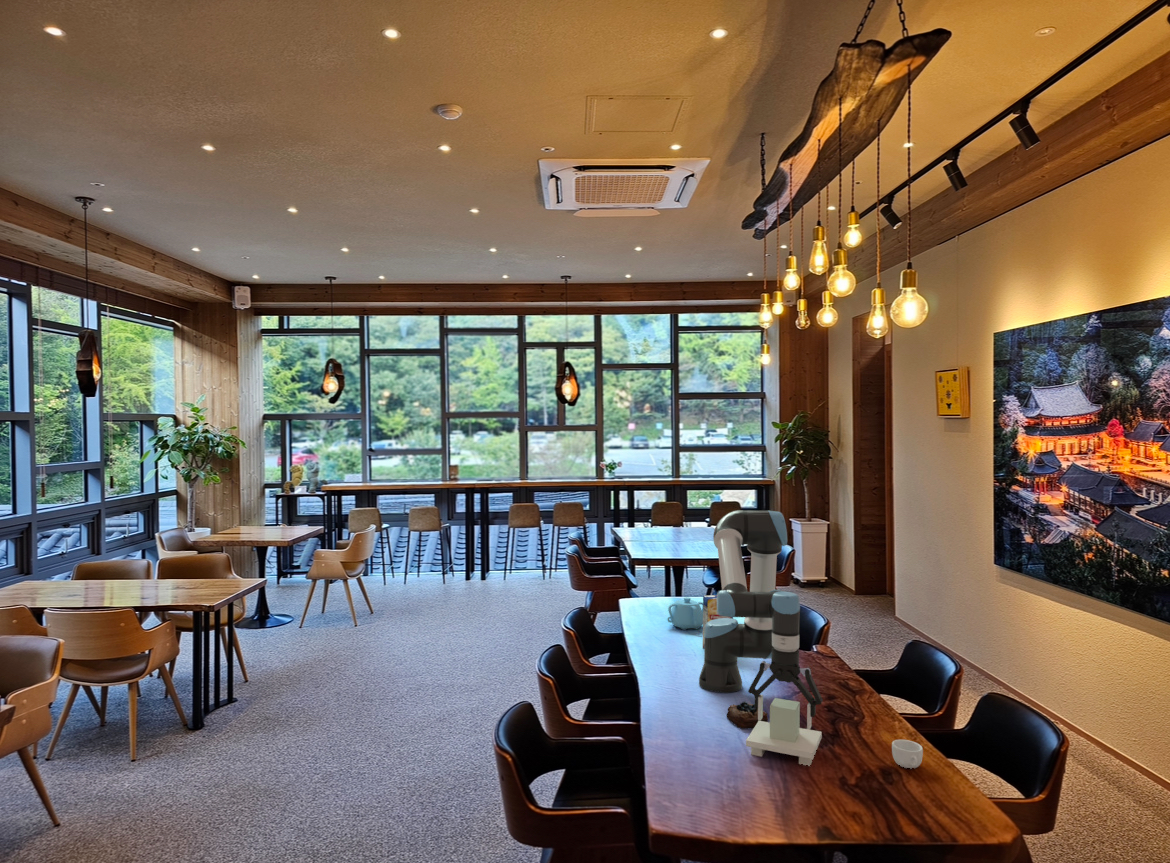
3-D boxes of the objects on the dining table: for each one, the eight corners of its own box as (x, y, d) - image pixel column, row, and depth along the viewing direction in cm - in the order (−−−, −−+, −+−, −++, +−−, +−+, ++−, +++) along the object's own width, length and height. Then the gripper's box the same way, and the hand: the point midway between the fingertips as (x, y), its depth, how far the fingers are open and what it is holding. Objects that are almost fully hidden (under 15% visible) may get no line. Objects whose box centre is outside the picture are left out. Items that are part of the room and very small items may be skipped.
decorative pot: (662, 627, 342) (663, 598, 342) (678, 620, 356) (679, 592, 356) (694, 633, 333) (695, 603, 333) (710, 626, 346) (710, 597, 346)
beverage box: (702, 648, 310) (702, 595, 310) (727, 647, 311) (728, 595, 312) (707, 652, 303) (707, 599, 303) (732, 652, 305) (733, 598, 305)
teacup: (887, 758, 205) (887, 739, 205) (915, 759, 204) (915, 739, 205) (901, 775, 195) (901, 754, 195) (931, 775, 194) (931, 755, 195)
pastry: (740, 731, 223) (740, 711, 223) (722, 716, 235) (722, 698, 235) (772, 727, 226) (772, 708, 226) (753, 713, 238) (753, 695, 238)
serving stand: (758, 735, 219) (758, 720, 219) (821, 747, 211) (821, 731, 211) (745, 756, 205) (746, 740, 205) (812, 770, 197) (813, 753, 197)
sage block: (774, 729, 213) (774, 698, 213) (799, 733, 210) (799, 702, 210) (769, 738, 207) (769, 705, 207) (795, 742, 204) (795, 710, 204)
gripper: (738, 645, 210) (737, 719, 210) (829, 658, 199) (828, 736, 200) (744, 638, 217) (743, 710, 217) (833, 650, 206) (832, 726, 206)
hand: (784, 723), depth 208 cm, fingers open, 13 cm apart
